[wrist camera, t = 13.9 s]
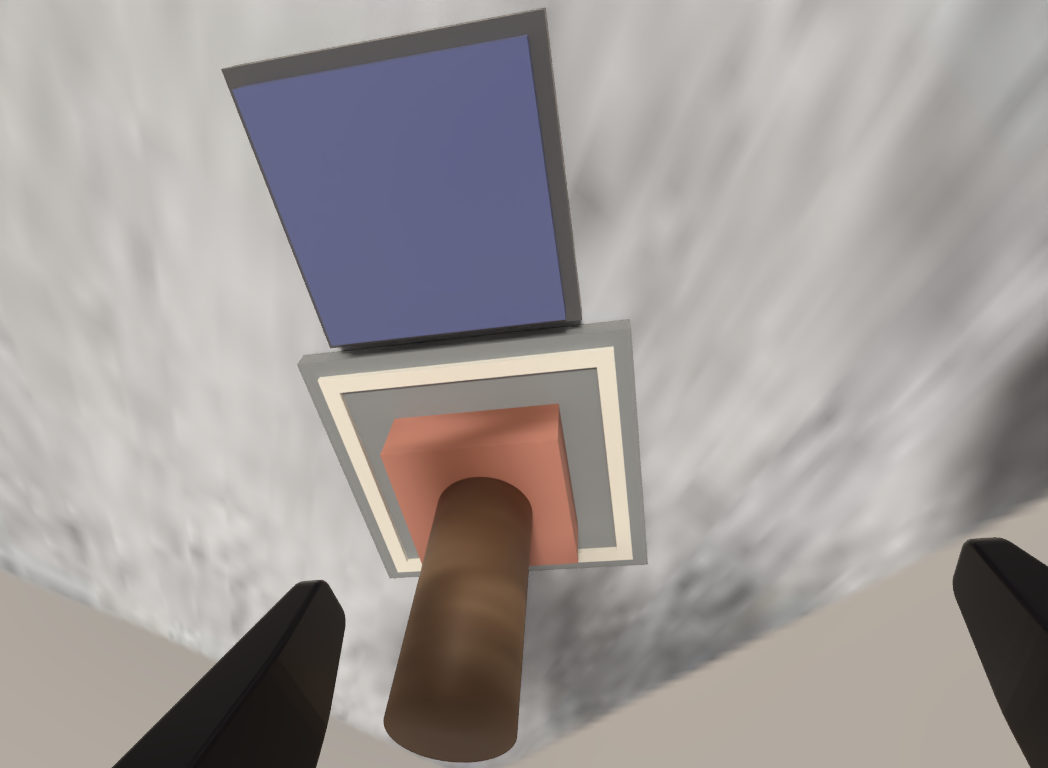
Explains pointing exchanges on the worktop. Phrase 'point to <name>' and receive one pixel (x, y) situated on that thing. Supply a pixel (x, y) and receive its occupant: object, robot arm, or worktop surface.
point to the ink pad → (419, 179)
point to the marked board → (487, 384)
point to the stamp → (474, 569)
